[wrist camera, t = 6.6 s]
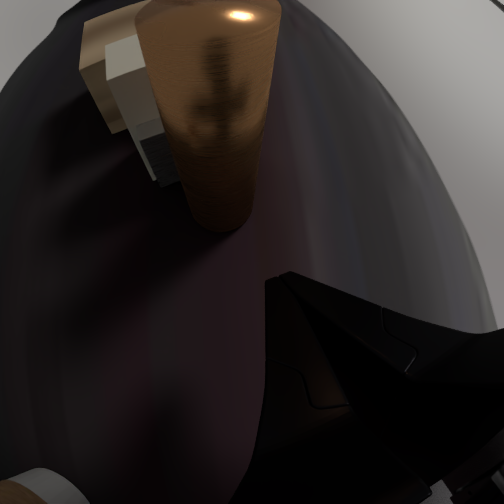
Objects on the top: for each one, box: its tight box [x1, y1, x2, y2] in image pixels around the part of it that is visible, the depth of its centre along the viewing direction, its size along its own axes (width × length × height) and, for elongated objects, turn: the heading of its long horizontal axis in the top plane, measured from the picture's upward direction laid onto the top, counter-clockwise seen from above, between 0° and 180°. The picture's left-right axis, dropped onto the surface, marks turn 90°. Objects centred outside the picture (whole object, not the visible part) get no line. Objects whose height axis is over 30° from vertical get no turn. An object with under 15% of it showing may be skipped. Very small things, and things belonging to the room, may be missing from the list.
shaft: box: [134, 0, 282, 232], centre depth 13 cm, size 23×6×12 cm, turn 21°
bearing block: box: [79, 0, 152, 134], centre depth 16 cm, size 7×11×6 cm, turn 111°
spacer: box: [105, 34, 160, 181], centre depth 14 cm, size 3×7×8 cm, turn 110°
